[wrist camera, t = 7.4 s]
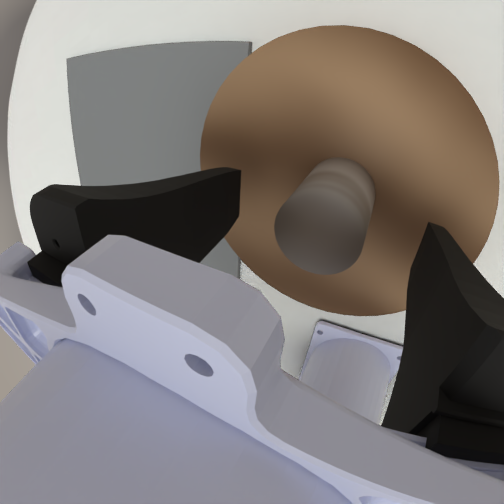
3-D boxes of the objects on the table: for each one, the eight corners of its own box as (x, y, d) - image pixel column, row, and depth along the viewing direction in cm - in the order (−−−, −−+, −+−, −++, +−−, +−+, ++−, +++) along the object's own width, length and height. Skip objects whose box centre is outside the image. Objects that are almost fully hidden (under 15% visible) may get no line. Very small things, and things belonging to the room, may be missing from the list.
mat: (239, 280, 26) (237, 283, 26) (92, 225, 32) (89, 226, 32) (251, 42, 16) (248, 41, 15) (70, 58, 21) (66, 58, 21)
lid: (427, 335, 16) (420, 405, 12) (208, 259, 20) (162, 307, 17) (529, 88, 8) (584, 105, 4) (214, 17, 12) (142, 10, 8)
